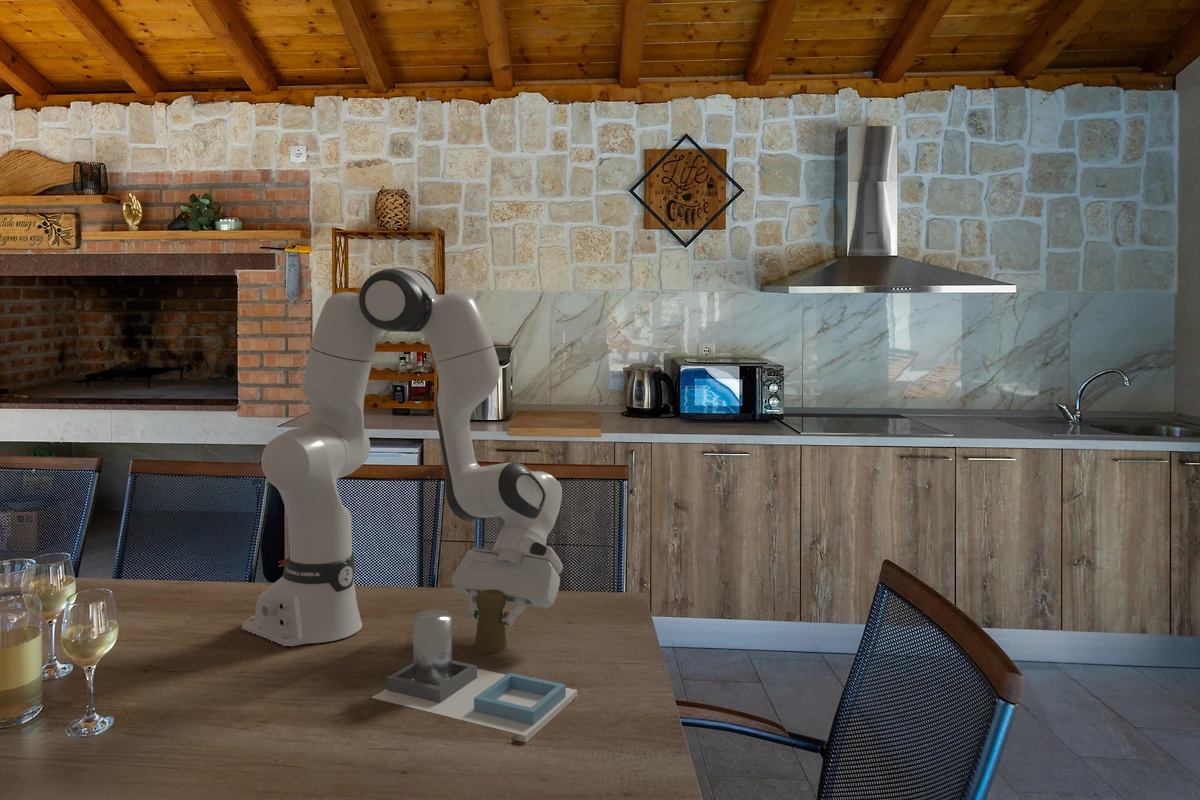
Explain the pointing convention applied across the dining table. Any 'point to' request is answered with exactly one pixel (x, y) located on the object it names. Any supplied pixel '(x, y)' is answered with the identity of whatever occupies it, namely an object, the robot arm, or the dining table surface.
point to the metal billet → (432, 647)
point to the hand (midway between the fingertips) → (488, 620)
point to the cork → (490, 622)
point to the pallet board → (483, 698)
